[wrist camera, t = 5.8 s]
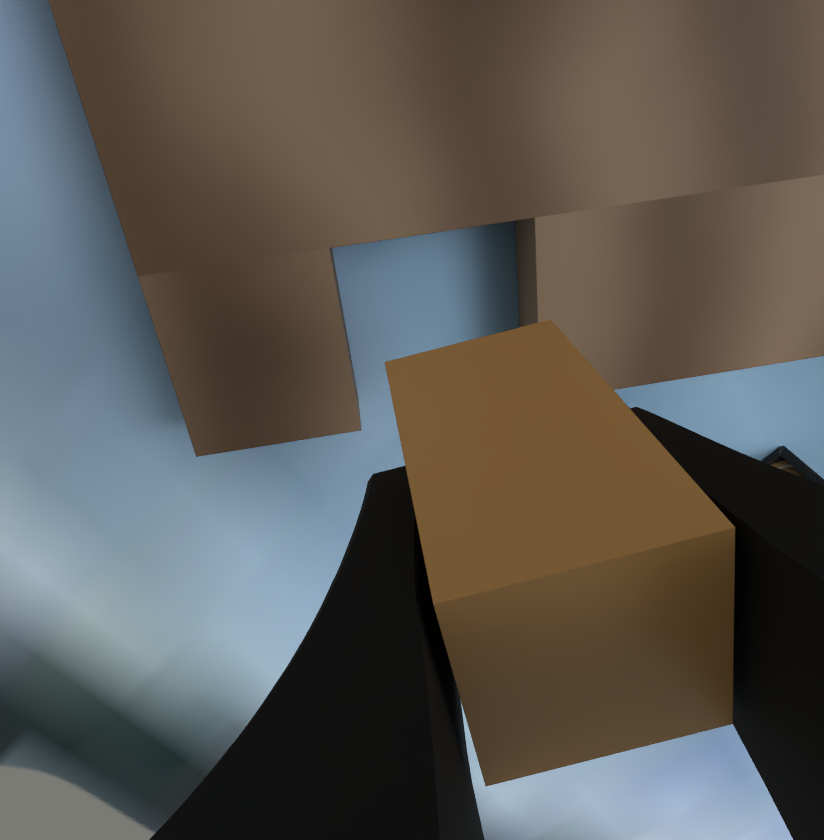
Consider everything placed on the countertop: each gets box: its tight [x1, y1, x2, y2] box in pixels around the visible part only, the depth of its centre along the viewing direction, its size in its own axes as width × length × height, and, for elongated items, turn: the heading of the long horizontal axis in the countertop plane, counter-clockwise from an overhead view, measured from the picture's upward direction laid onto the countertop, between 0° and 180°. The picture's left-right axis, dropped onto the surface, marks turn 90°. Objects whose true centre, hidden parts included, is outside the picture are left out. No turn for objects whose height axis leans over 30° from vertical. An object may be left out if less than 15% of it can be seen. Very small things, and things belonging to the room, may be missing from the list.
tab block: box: [385, 319, 735, 786], centre depth 10 cm, size 3×3×6 cm
